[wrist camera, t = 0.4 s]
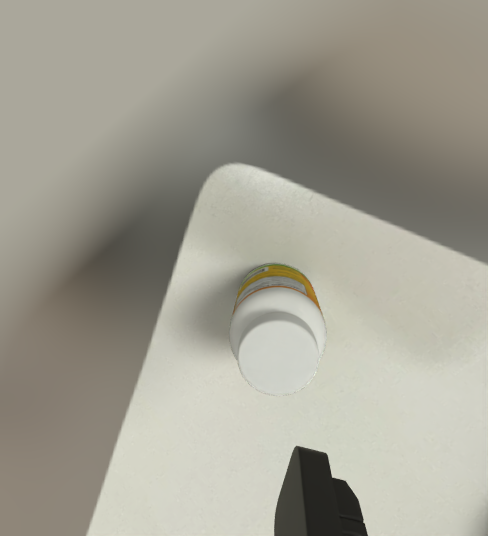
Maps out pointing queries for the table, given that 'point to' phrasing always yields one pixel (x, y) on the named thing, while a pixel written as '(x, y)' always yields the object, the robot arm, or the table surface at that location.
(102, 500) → the table surface
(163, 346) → the table surface
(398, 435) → the table surface
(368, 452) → the table surface
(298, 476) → the robot arm
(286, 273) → the supplement bottle
